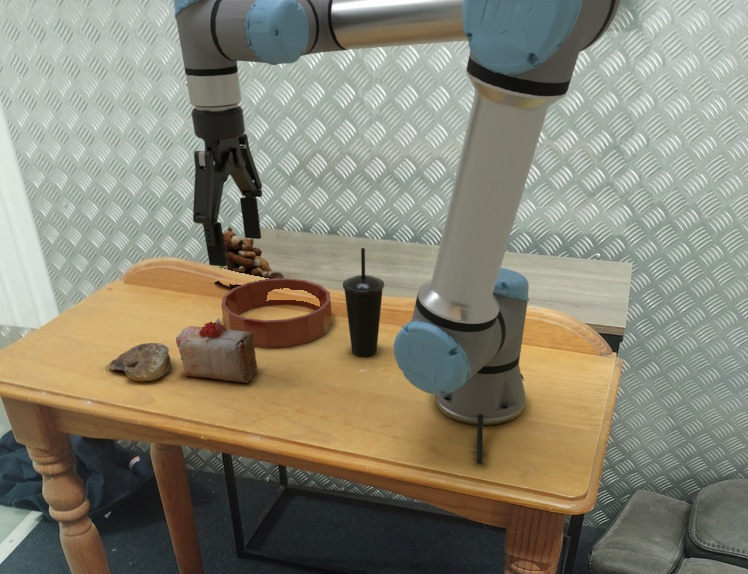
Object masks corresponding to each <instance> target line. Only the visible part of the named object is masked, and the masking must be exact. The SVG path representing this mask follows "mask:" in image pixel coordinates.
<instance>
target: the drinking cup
mask: <svg viewBox="0 0 748 574" xmlns="http://www.w3.org/2000/svg"><path fill="white" fill-rule="evenodd" d="M360 261H361V262H360V263H361V264H360V265H361V266H360V267H361V272H360V273H361V274H357V275H354V276H352V277H348V278H347V279H345V280H344V281H342V289H343V290H344V297H345V305H346V313H347V321H348V322H347V323H348V331H349V340H350V346H351V353H352V354H353V355H354V356H356V357H359V358H368V357H373V356H374V355H375V354H376V353H377V350H378V349H377V348H378V340H379V338H378V337H379V330H380V329H379V328H380V320H381V312H382V311H381V309H382V298H383V289H384V288H385V282H384V280H383V279H381V278H379V277H376V276H374V275H370V274H366V248H365V247H361V248H360Z"/></svg>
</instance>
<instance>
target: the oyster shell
mask: <svg viewBox="0 0 748 574" xmlns="http://www.w3.org/2000/svg"><path fill="white" fill-rule="evenodd" d="M169 351H170V350H169V346H167V345H165V344H163V343H161V342H160V343H159V342H149V343H148V342H145V343H139V344H137V345H135V346H132V347H131V348H129V349H128V350H126V351H124V352H123V353H121V354H119V355H118V356H117V357H116V358H115V359H113V360H112V361H110V363H109V364H108V368H109V370H113V371H115V370H117V371H123V372H124V373H125V375H126V376H127V378H129V379H130V380H133V381H134V382H153V381H156V380H158V379H160V378H162V377H164V376H165V375H167V374H169V373H170V371H171V369H172V362H171V360H172V359H171V356H170V354H169Z"/></svg>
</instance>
